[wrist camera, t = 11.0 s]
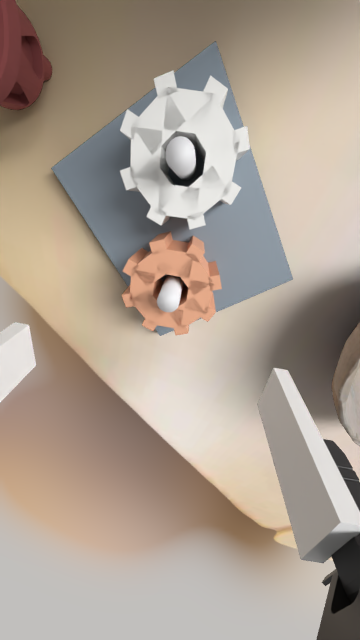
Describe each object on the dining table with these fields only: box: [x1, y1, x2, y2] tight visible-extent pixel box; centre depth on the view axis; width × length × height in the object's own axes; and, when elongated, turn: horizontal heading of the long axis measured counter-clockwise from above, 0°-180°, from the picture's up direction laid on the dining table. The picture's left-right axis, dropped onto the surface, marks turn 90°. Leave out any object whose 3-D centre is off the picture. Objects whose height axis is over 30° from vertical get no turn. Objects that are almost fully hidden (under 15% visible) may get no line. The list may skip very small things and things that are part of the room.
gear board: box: [51, 41, 293, 336], centre depth 22 cm, size 18×22×10 cm
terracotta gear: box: [122, 231, 222, 335], centre depth 25 cm, size 10×10×6 cm
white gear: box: [120, 71, 250, 229], centre depth 20 cm, size 10×10×6 cm
